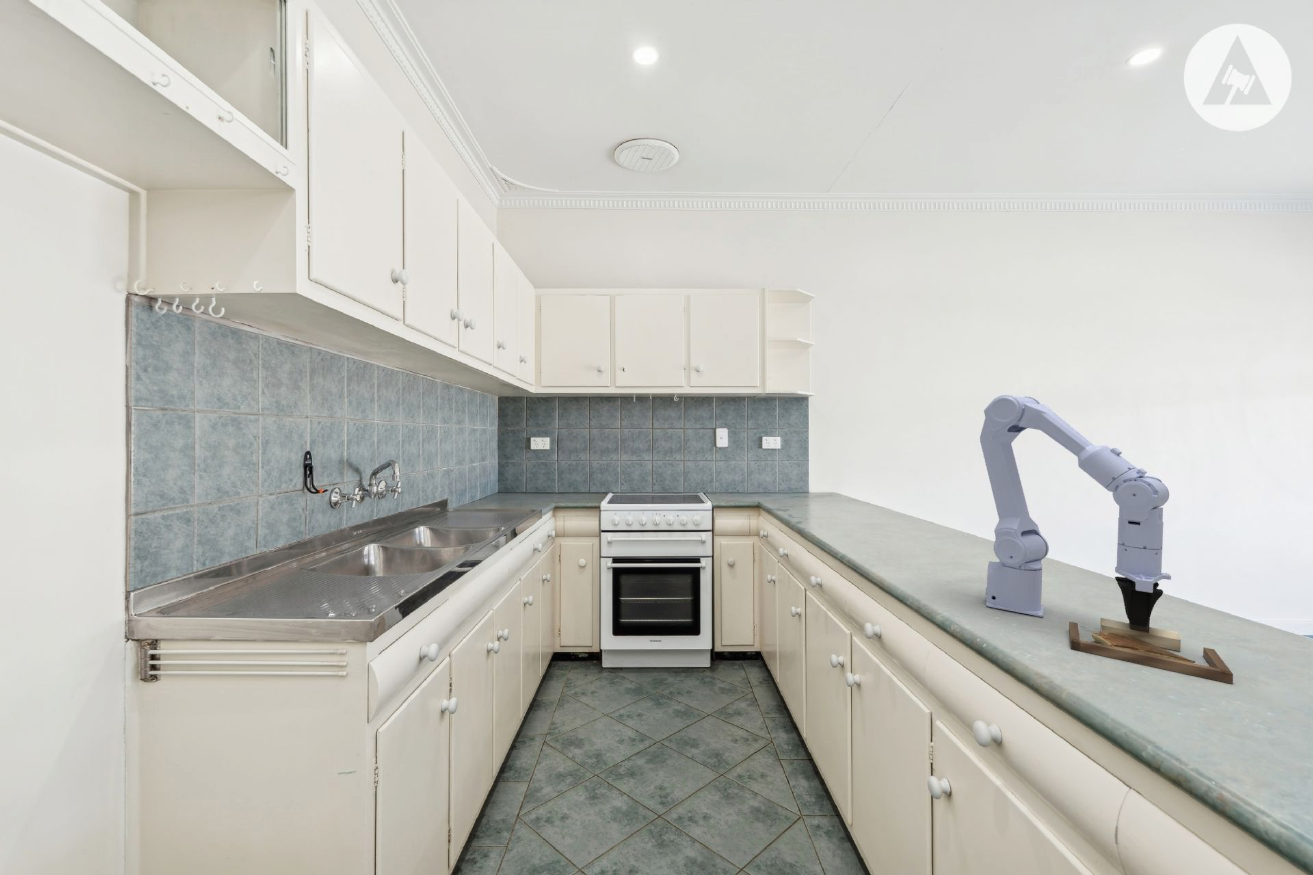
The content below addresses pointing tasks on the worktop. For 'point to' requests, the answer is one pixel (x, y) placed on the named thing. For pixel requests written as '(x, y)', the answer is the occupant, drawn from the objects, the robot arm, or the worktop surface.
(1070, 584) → the worktop surface
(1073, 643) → the walnut frame
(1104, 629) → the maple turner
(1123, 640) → the shard
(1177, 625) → the worktop surface
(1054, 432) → the robot arm
